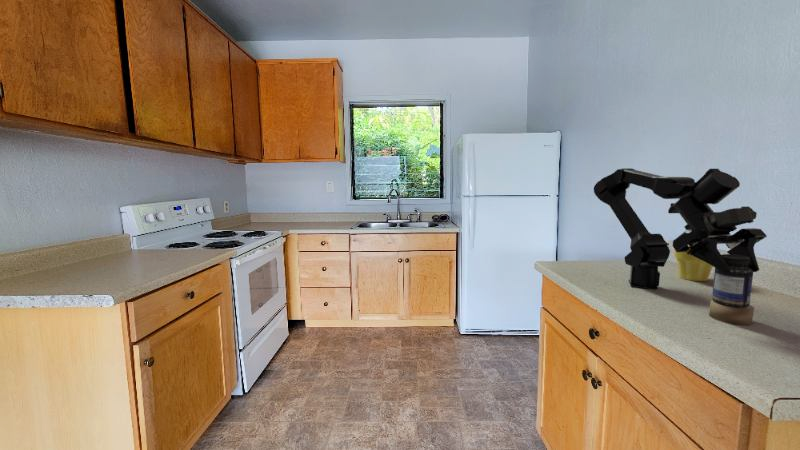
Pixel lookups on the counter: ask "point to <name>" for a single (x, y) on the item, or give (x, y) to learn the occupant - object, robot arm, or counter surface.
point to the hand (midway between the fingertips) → (742, 271)
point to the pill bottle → (733, 282)
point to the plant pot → (692, 267)
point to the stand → (731, 314)
